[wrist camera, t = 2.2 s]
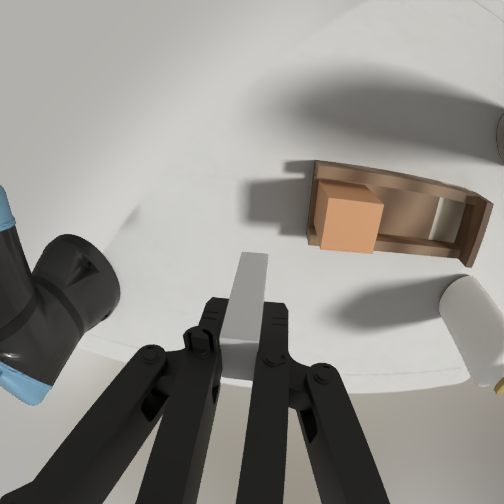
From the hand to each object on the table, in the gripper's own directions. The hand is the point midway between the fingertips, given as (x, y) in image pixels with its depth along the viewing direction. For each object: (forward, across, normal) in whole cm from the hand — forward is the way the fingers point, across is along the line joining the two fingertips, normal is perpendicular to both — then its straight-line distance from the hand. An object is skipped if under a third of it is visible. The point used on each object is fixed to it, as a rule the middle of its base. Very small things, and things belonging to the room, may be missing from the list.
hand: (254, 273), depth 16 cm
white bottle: (+15, +31, -12) cm, 36 cm away
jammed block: (+14, +8, 0) cm, 16 cm away
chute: (+15, +15, 0) cm, 21 cm away
